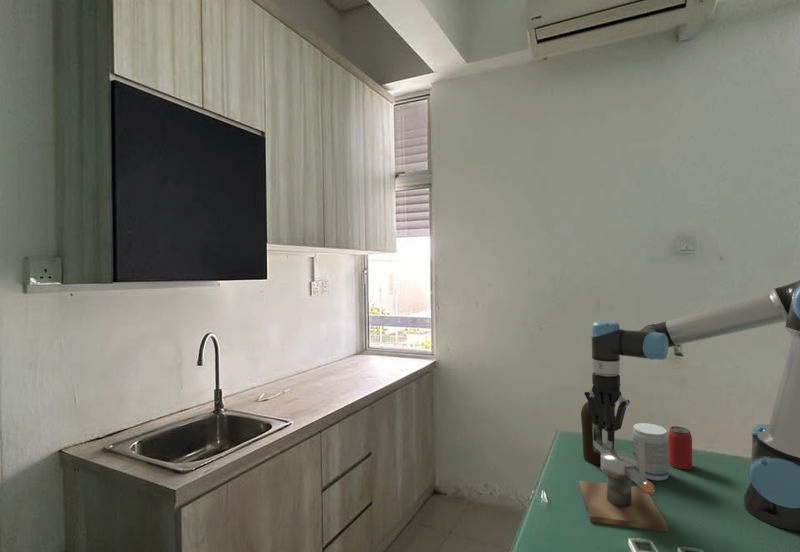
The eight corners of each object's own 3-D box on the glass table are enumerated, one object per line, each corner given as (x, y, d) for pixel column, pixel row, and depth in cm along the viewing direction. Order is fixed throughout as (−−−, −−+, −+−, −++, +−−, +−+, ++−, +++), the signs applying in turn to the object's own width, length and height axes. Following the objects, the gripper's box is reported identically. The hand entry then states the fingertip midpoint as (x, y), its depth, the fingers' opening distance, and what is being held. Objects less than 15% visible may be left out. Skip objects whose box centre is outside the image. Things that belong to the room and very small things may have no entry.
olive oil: (576, 452, 147) (575, 382, 147) (607, 452, 147) (606, 382, 146) (588, 466, 137) (588, 392, 136) (621, 466, 136) (621, 391, 135)
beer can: (665, 465, 137) (665, 429, 136) (671, 458, 141) (671, 424, 141) (689, 472, 132) (689, 435, 131) (694, 465, 136) (694, 429, 136)
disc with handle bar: (581, 450, 127) (581, 438, 127) (610, 449, 127) (610, 437, 127) (633, 501, 100) (633, 485, 100) (670, 500, 100) (670, 483, 100)
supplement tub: (674, 475, 130) (674, 429, 130) (659, 485, 125) (659, 437, 124) (642, 463, 138) (642, 420, 138) (627, 472, 133) (627, 427, 132)
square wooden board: (645, 492, 121) (644, 459, 121) (667, 531, 104) (667, 493, 103) (578, 485, 126) (578, 454, 125) (590, 521, 108) (589, 485, 108)
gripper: (578, 370, 128) (580, 446, 128) (621, 379, 117) (622, 461, 118) (592, 366, 132) (593, 439, 133) (634, 375, 121) (635, 454, 122)
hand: (607, 450), depth 125 cm, fingers closed
